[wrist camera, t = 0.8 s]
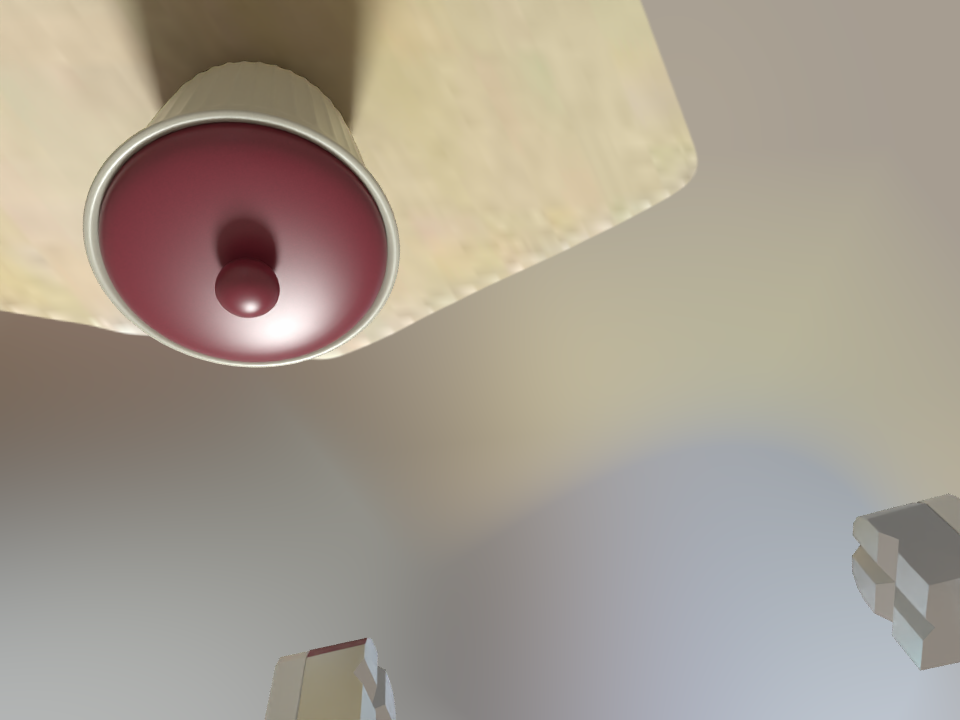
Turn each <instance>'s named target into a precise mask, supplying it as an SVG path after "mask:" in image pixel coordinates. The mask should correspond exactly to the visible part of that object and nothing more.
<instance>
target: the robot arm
mask: <svg viewBox="0 0 960 720" xmlns="http://www.w3.org/2000/svg"><path fill="white" fill-rule="evenodd" d="M853 536H854V537H855V539H856V540H857V541H858V542H859V543H860V546H859V548H858V549H857V550H856V552H855V553H854V554H853V555H852V572H853V575H854V578H855V581H856V585H857V588H858V589H859V591H860V593H861V595H862V597H863V599H864V600H865V602H866V603H867V604H868V606H869V607H870V608H871V609H872V611H873V612H874V613H875V614H877V615H879V616H881V617H883V618H885V619H887V620H890V621H892V622H893V629H892V636H893V637H894V639H895V640H896V641H897V642H898V643H899V645H900V646H901V647H902V649H903V650H904V651H905V652H906V653H907V655H908V656H909V657H910V658H911V660H912V661H913V662H914V663H915V665H916V666H917V667H918V668H919V670H925V669H929V668H934V667H939V666H944V665H948V664H953V663H958V662H960V499H959V498H958V497H956V496H954V495H951V494H946V495H942V496H938V497H934V498H930V499H926V500H922V501H918V502H917V503H910V504H906V505H902V506H898V507H894V508H890V509H887V510H883V511H879V512H875V513H871V514H867V515H863V516H859V517H857V518H856V520H855V522H854V523H853ZM377 663H378V651H377V649H376V647H375V645H374V643H373V640H372V639H371V638H364V639H360V640H355V641H350V642H345V643H341V644H336V645H332V646H327V647H323V648H318V649H313V650H310V651H307V652H302V653H298V654H293V655H288V656H284V657H281V658H280V659H279V661H278V663H277V665H276V666H275V670H274V676H273V680H272V685H271V690H270V695H269V700H268V705H267V710H266V715H265V720H396V710H395V702H394V694H393V690H392V687H391V683H390V680H389V677H388V675H387V672H386V670H385V669H383V668H381V667H379V666H378V664H377Z"/></svg>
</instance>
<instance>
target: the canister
mask: <svg viewBox="0 0 960 720" xmlns="http://www.w3.org/2000/svg"><path fill="white" fill-rule="evenodd" d="M83 237H84V244H85V249H86V253H87V257H88V260H89V263H90V266H91V268H92V271H93V273H94V275H95V277H96V279H97V281H98V283H99V284H100V286H101V288H102V289H103V291H104V292H105V294H106V295H107V297H108V298H109V299H110V300H111V302H112V303H113V304H114V305H115V306H116V308H117V309H118V310H119V311H120V312H121V313H122V314H123V315H124V316H125V317H126V318H127V319H128V320H130V321H131V322H132V323H133V324H134V325H136V326H137V327H138V328H139V329H141V330H142V331H143V332H145V333H146V334H148V335H149V336H151V337H152V338H154V339H156V340H157V341H159V342H161V343H163V344H164V345H166V346H168V347H170V348H172V349H175V350H177V351H179V352H182V353H184V354H187V355H189V356H193V357H195V358H198V359H202V360H205V361H209V362H213V363H218V364H224V365H230V366H239V367H273V366H282V365H289V364H294V363H298V362H302V361H306V360H309V359H313V358H315V357H318V356H321V355H323V354H326V353H328V352H330V351H332V350H334V349H336V348H338V347H340V346H341V345H343V344H345V343H346V342H348V341H349V340H351V339H352V338H354V337H355V336H356V335H358V334H359V333H360V332H361V331H362V330H364V329H365V328H366V327H367V326H368V325H369V324H370V323H371V322H372V320H373V319H374V318H375V317H376V316H377V315H378V313H379V312H380V311H381V309H382V308H383V306H384V304H385V303H386V301H387V299H388V297H389V295H390V293H391V291H392V289H393V286H394V283H395V280H396V276H397V272H398V267H399V258H400V243H399V234H398V229H397V224H396V220H395V217H394V214H393V211H392V208H391V206H390V204H389V201H388V199H387V197H386V195H385V194H384V192H383V190H382V189H381V187H380V185H379V184H378V182H377V181H376V180H375V178H374V177H373V176H372V174H371V173H370V172H369V171H368V170H367V168H366V167H365V165H364V162H363V160H362V157H361V155H360V152H359V150H358V147H357V145H356V143H355V141H354V139H353V137H352V135H351V132H350V130H349V128H348V127H347V125H346V124H345V122H344V119H343V117H342V115H341V114H340V112H339V111H338V110H337V109H336V108H335V107H334V106H333V103H332V102H331V100H330V99H329V98H328V97H326V96H325V95H324V94H323V93H322V92H321V91H320V89H319V88H318V87H317V86H314V85H312V84H311V83H310V82H308V81H307V79H306V78H304V77H301V76H298V75H297V74H295V73H294V72H292V71H291V70H286V69H283V68H280V67H278V66H277V65H269V64H265V63H262V62H247V61H242V62H238V63H231V62H228V63H226V64H224V65H222V66H213V67H211V68H210V69H209V70H207V71H205V72H202V73H199V74H197V75H196V76H195V77H194V78H193V79H192V80H191V81H188V82H186V83H185V84H183V85H182V86H181V88H180V89H179V90H178V91H177V92H176V93H175V94H174V95H173V96H172V97H171V98H170V99H169V100H168V102H167V103H166V104H165V105H164V106H163V107H162V108H161V109H160V111H159V112H158V113H157V114H156V115H155V117H154V118H153V119H152V121H151V122H150V123H149V124H148V126H147V127H146V128H144V129H142V130H141V131H139V132H137V133H136V134H134V135H133V136H131V137H130V138H129V139H127V140H126V141H125V142H124V143H122V144H121V145H120V146H119V147H118V148H117V149H116V150H115V151H114V152H113V153H112V154H111V155H110V156H109V157H108V159H107V160H106V161H105V162H104V164H103V165H102V167H101V168H100V170H99V171H98V173H97V175H96V177H95V179H94V181H93V183H92V185H91V187H90V190H89V193H88V196H87V199H86V203H85V208H84V215H83Z"/></svg>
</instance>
